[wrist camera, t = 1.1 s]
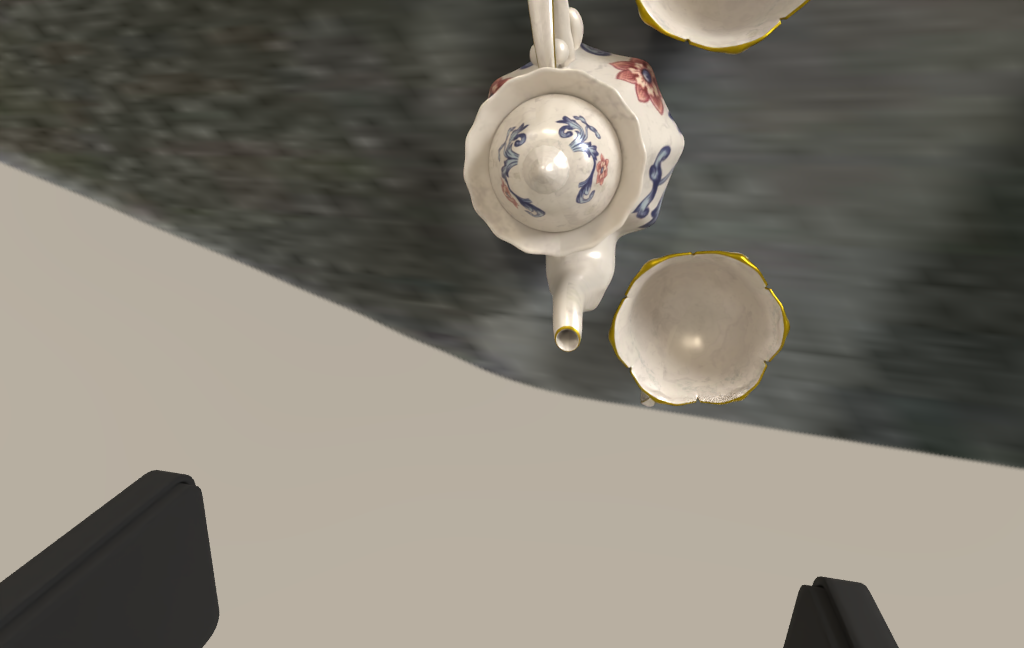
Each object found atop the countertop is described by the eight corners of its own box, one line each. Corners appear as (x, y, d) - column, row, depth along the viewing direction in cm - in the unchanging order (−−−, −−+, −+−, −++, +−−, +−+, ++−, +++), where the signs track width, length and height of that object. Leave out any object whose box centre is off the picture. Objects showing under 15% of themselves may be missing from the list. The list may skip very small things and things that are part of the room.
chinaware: (770, 369, 37) (928, 541, 21) (505, 388, 39) (472, 562, 23) (780, -164, 29) (1048, -521, 13) (444, -111, 31) (328, -372, 15)
